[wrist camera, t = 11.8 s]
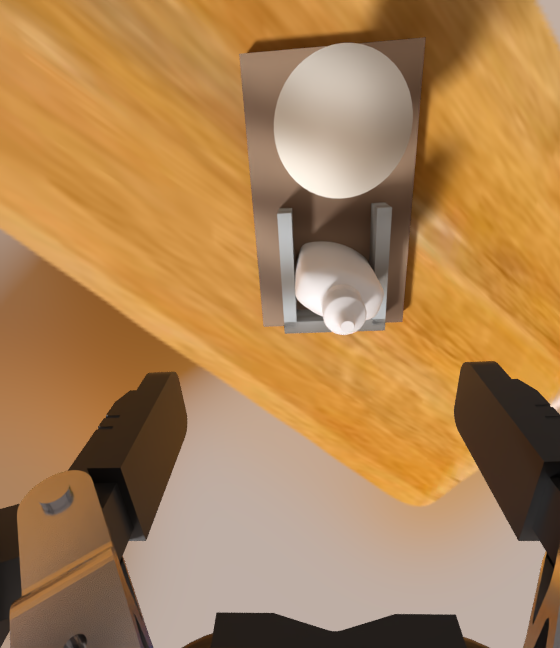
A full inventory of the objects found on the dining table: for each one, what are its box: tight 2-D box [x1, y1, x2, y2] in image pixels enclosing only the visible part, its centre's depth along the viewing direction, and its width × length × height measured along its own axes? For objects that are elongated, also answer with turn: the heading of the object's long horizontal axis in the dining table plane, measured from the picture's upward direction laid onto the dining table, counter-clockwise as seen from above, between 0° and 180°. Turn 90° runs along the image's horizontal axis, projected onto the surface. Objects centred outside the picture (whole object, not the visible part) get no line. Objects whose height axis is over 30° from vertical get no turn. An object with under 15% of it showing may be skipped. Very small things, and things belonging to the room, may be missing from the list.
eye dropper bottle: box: [295, 241, 384, 335], centre depth 25 cm, size 4×6×12 cm
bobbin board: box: [239, 38, 425, 333], centre depth 26 cm, size 20×12×10 cm, turn 4°
